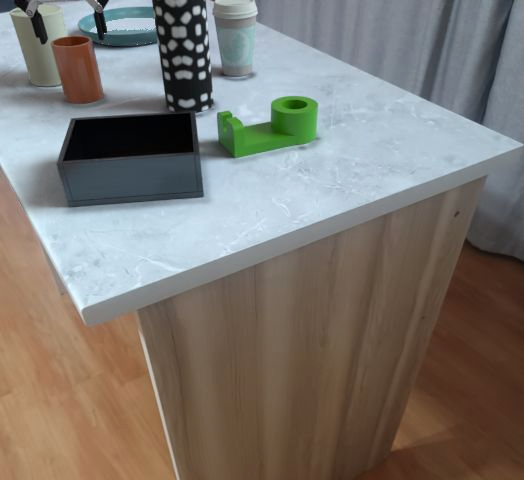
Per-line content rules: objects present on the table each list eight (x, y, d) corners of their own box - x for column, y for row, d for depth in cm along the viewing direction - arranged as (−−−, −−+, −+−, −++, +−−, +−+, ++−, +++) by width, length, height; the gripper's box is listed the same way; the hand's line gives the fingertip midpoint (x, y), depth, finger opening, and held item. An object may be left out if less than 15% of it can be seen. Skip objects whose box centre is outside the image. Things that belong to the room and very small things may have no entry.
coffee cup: (208, 75, 102) (202, 3, 93) (229, 62, 107) (226, -7, 99) (245, 81, 99) (243, 8, 91) (266, 68, 104) (265, -2, 96)
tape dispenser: (302, 122, 85) (303, 93, 81) (324, 139, 80) (326, 108, 77) (217, 140, 80) (215, 109, 77) (236, 158, 76) (234, 126, 72)
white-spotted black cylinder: (156, 104, 91) (136, -35, 77) (193, 92, 95) (179, -43, 81) (186, 117, 87) (170, -28, 73) (223, 103, 91) (214, -37, 77)
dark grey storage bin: (69, 207, 66) (55, 163, 62) (81, 157, 77) (71, 117, 72) (204, 196, 68) (199, 153, 64) (199, 149, 78) (195, 110, 74)
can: (33, 72, 104) (12, 2, 96) (80, 69, 105) (63, -1, 97) (27, 88, 98) (3, 14, 89) (77, 84, 99) (58, 11, 90)
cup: (63, 104, 92) (47, 48, 85) (68, 91, 96) (53, 36, 90) (102, 102, 92) (89, 45, 86) (105, 89, 97) (93, 34, 91)
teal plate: (79, 26, 129) (76, 10, 127) (175, 18, 133) (174, 3, 131) (82, 54, 113) (78, 36, 110) (191, 44, 117) (190, 27, 114)
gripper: (101, -97, 79) (125, 30, 91) (-15, -91, 78) (26, 37, 90) (97, -91, 74) (123, 43, 86) (-27, -85, 73) (17, 50, 85)
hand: (73, 40), depth 88 cm, fingers open, 9 cm apart
